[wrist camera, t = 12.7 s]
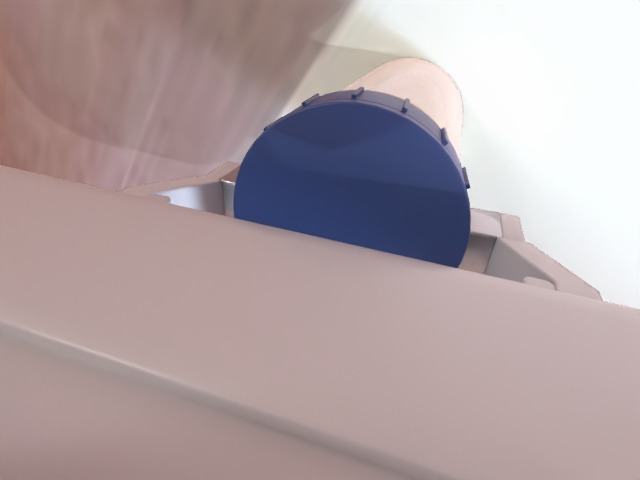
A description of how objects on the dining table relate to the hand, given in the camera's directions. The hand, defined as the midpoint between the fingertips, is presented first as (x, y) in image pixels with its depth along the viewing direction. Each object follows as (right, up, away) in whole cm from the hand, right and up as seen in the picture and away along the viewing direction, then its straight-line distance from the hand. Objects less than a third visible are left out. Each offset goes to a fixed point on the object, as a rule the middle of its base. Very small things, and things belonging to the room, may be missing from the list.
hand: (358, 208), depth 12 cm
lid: (0, 0, -2) cm, 2 cm away
